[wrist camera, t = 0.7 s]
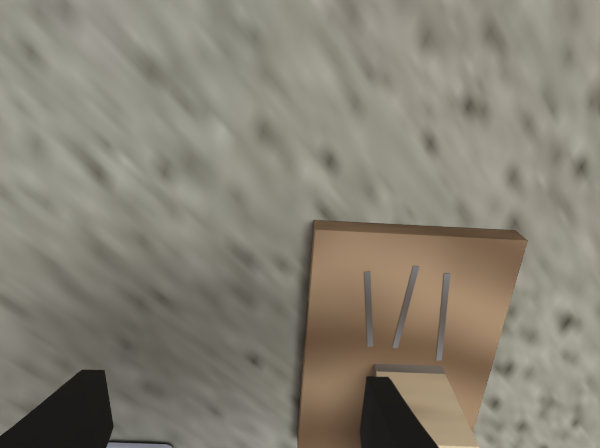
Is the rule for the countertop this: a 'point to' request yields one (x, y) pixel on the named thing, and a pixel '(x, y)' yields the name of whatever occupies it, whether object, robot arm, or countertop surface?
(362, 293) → the board
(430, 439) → the robot arm
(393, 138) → the countertop surface
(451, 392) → the block
